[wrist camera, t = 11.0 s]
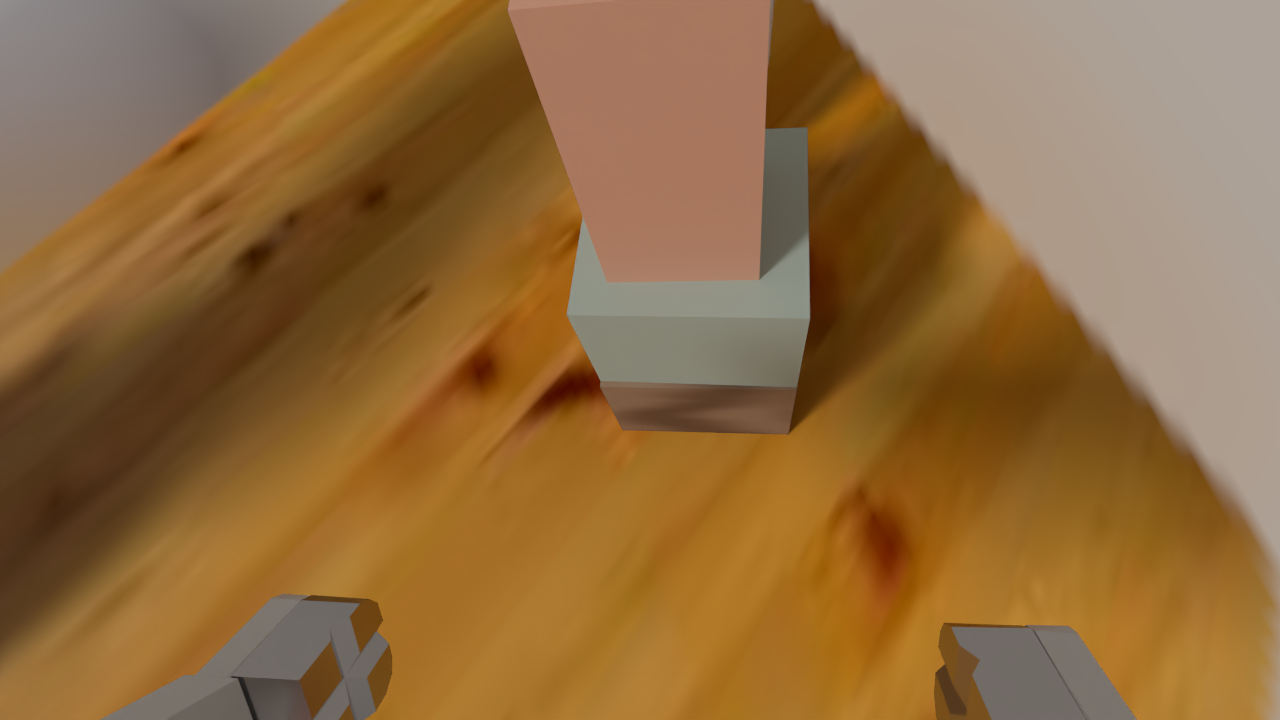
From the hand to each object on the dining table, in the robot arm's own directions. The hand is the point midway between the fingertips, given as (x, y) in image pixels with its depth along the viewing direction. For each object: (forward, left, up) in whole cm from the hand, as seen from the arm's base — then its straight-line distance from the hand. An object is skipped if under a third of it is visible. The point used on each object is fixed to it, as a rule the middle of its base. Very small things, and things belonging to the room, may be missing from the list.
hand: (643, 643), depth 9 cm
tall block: (-9, +8, -6) cm, 14 cm away
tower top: (-9, +9, -11) cm, 16 cm away
